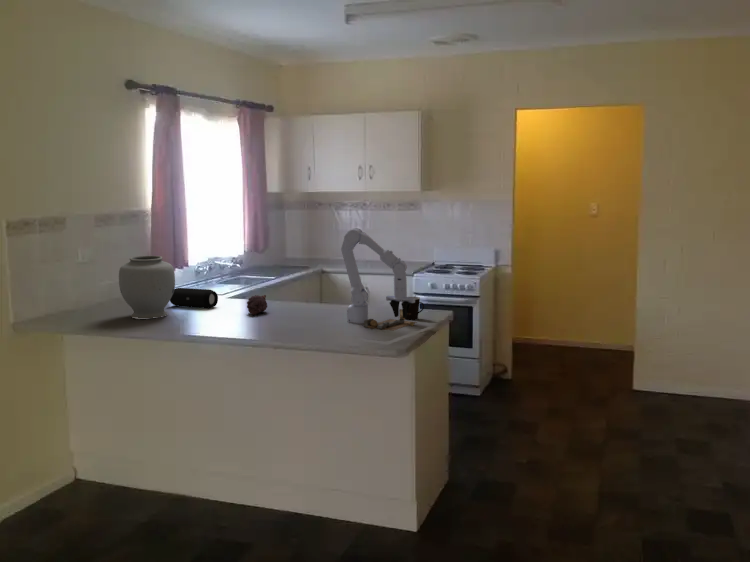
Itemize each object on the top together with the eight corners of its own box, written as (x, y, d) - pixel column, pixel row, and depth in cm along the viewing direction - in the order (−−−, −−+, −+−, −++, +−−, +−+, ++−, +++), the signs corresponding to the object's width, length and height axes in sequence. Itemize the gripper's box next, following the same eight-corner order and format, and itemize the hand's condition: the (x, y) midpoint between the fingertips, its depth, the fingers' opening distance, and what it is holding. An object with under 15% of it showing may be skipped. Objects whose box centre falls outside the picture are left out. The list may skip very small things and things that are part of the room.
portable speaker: (168, 307, 397) (167, 289, 395) (180, 304, 406) (179, 286, 404) (208, 310, 387) (207, 291, 385) (219, 306, 396) (218, 288, 394)
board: (364, 329, 332) (363, 320, 331) (390, 321, 348) (390, 312, 348) (396, 334, 322) (396, 324, 321) (421, 325, 338) (421, 316, 338)
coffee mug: (399, 318, 356) (398, 297, 354) (415, 316, 359) (415, 296, 357) (408, 322, 345) (408, 301, 343) (425, 320, 348) (425, 299, 346)
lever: (376, 328, 328) (376, 315, 327) (401, 321, 341) (401, 308, 340) (382, 328, 326) (381, 316, 325) (406, 321, 339) (406, 309, 339)
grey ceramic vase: (184, 311, 385) (181, 253, 380) (165, 321, 359) (161, 260, 354) (135, 311, 388) (130, 254, 383) (112, 321, 361) (107, 260, 357)
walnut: (368, 327, 331) (368, 320, 331) (373, 326, 334) (372, 319, 333) (374, 328, 329) (374, 321, 329) (378, 326, 332) (378, 319, 331)
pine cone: (263, 316, 366) (251, 300, 364) (248, 325, 370) (236, 309, 368) (275, 301, 382) (263, 285, 379) (261, 309, 386) (249, 294, 383)
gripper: (418, 287, 337) (419, 317, 339) (391, 285, 345) (392, 314, 347) (410, 289, 331) (410, 319, 333) (383, 287, 339) (383, 316, 341)
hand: (400, 317), depth 340 cm, fingers open, 4 cm apart
